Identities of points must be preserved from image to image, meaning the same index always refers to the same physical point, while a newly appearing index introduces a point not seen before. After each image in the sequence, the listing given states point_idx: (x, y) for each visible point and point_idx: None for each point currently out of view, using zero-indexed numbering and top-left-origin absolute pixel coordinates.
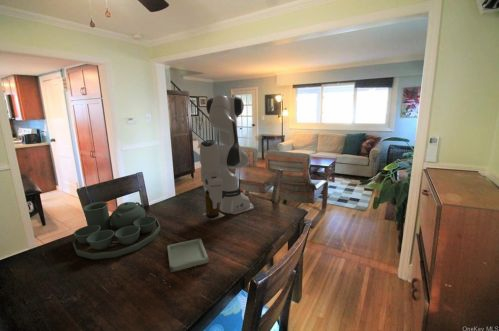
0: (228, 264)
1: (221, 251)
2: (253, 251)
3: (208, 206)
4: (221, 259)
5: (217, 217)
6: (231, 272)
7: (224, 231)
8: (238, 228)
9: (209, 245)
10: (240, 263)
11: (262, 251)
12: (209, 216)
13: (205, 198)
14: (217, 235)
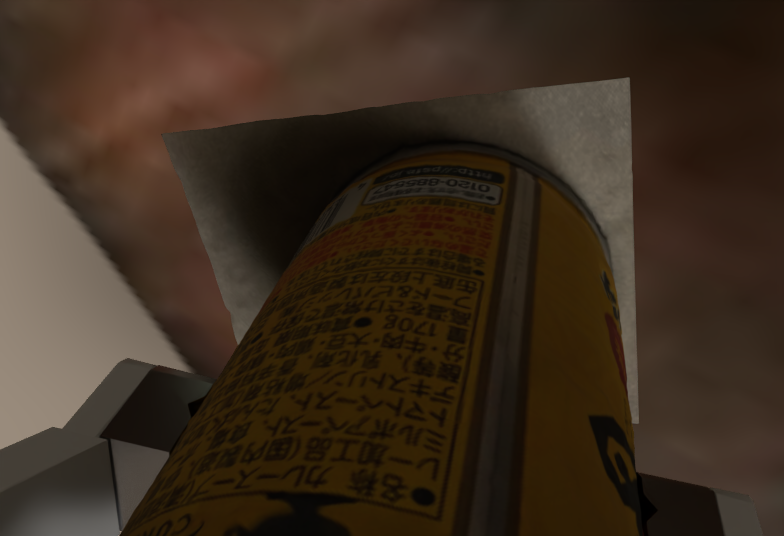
0: (127, 42)
1: (364, 80)
2: (225, 319)
3: (283, 317)
4: (228, 16)
5: (245, 288)
6: (11, 12)
7: (740, 298)
8: (680, 435)
9: (563, 7)
10: (106, 144)
11: (196, 370)
12: (363, 174)
13: (393, 516)
14: (716, 192)
